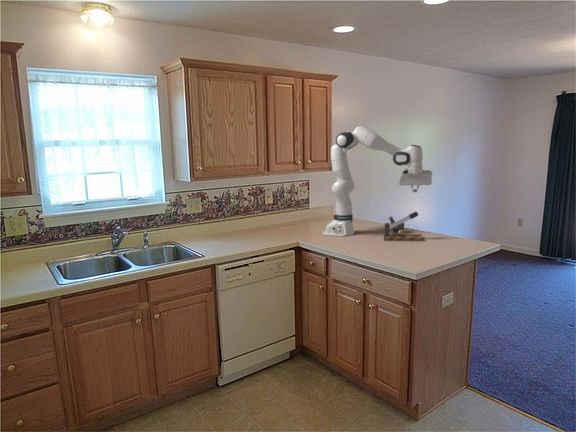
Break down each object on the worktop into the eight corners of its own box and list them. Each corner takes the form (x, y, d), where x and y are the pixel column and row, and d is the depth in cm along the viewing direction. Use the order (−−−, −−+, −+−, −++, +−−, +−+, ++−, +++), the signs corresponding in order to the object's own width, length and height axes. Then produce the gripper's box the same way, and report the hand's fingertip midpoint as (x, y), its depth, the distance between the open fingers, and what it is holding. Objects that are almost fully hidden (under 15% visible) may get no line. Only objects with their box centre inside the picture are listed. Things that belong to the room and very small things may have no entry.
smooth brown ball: (397, 236, 270) (397, 230, 269) (397, 235, 274) (397, 228, 273) (404, 236, 269) (404, 230, 268) (404, 235, 273) (404, 228, 272)
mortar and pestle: (401, 231, 296) (401, 214, 294) (406, 233, 287) (406, 216, 285) (386, 232, 294) (386, 215, 293) (391, 234, 285) (391, 217, 283)
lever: (389, 229, 271) (387, 226, 271) (389, 228, 275) (387, 225, 274) (419, 215, 264) (417, 211, 264) (418, 214, 268) (416, 210, 268)
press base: (383, 240, 269) (383, 225, 267) (384, 236, 280) (384, 222, 279) (422, 241, 263) (422, 225, 261) (421, 237, 274) (421, 222, 273)
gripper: (431, 169, 263) (431, 191, 265) (398, 170, 268) (398, 191, 270) (432, 170, 257) (432, 192, 259) (398, 171, 262) (398, 192, 264)
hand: (415, 192), depth 265 cm, fingers closed
